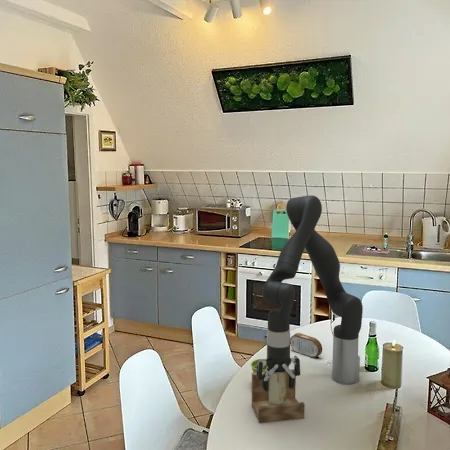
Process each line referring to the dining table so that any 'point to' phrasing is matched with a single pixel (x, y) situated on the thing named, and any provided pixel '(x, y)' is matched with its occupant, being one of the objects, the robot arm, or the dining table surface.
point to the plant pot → (254, 366)
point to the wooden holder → (274, 411)
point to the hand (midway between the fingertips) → (278, 388)
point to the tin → (306, 345)
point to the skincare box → (278, 388)
